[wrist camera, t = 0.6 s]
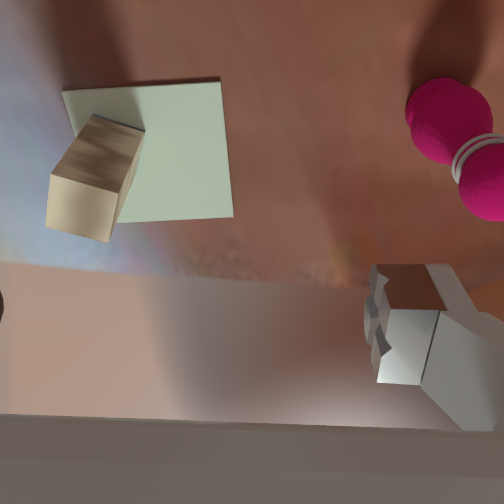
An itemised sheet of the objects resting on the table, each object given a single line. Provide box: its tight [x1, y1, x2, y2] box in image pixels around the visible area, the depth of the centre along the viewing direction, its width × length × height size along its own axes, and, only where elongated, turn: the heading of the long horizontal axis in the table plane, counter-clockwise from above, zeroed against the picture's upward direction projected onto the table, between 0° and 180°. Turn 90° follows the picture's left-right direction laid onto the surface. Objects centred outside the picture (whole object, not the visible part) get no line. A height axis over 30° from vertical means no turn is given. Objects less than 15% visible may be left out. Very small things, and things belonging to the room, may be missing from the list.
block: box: [45, 114, 145, 243], centre depth 45 cm, size 6×6×13 cm
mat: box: [62, 81, 234, 223], centre depth 52 cm, size 16×16×1 cm
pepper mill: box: [405, 77, 504, 221], centre depth 40 cm, size 7×7×20 cm
